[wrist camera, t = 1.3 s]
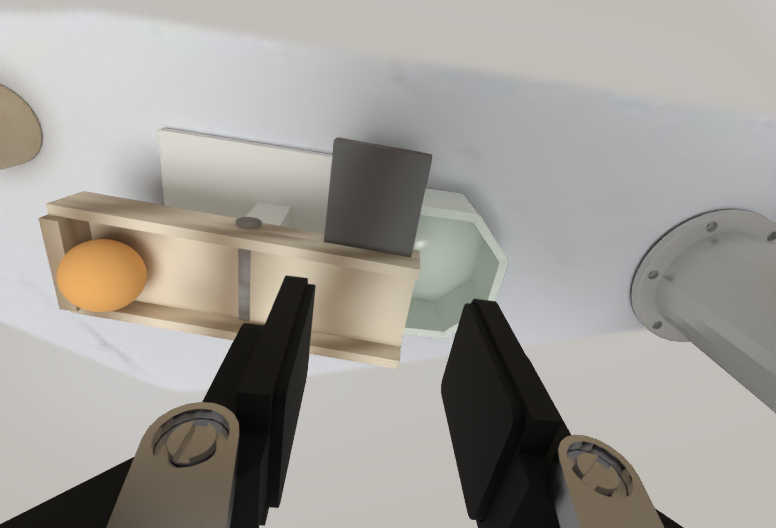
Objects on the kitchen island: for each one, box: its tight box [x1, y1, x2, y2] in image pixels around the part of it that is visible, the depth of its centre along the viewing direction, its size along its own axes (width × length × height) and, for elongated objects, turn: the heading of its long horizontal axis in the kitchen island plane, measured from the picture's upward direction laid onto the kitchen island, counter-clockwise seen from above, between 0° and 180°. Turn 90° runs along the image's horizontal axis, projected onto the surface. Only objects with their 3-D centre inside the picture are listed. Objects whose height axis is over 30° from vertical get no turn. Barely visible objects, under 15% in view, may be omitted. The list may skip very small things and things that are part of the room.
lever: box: [39, 138, 432, 369], centre depth 22 cm, size 20×13×3 cm, turn 81°
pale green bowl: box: [403, 188, 509, 338], centre depth 30 cm, size 10×10×5 cm
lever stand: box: [158, 128, 332, 234], centre depth 28 cm, size 16×13×7 cm
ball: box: [56, 239, 147, 312], centre depth 21 cm, size 4×4×4 cm
